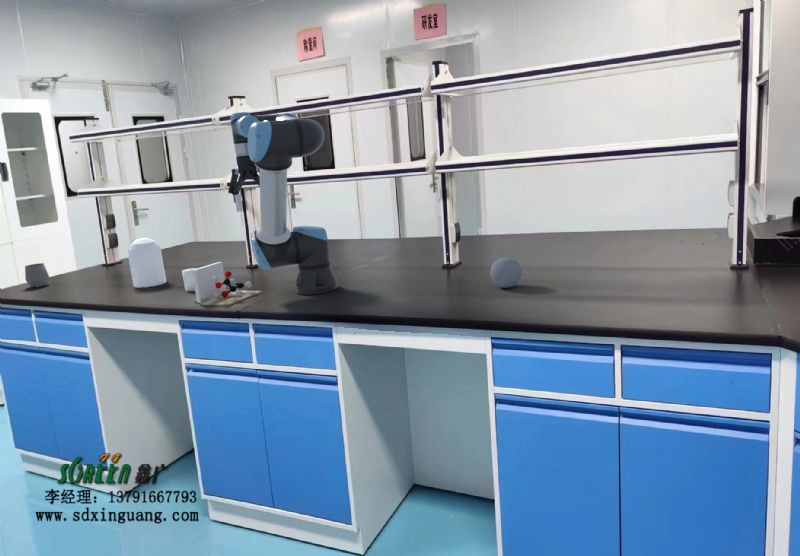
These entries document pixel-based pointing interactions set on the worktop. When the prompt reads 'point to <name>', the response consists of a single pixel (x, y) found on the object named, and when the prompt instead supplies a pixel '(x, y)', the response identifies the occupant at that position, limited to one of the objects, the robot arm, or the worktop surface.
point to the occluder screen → (208, 281)
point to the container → (146, 263)
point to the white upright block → (188, 279)
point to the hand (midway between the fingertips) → (253, 210)
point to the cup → (36, 275)
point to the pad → (230, 298)
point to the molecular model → (229, 283)
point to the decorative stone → (505, 272)
